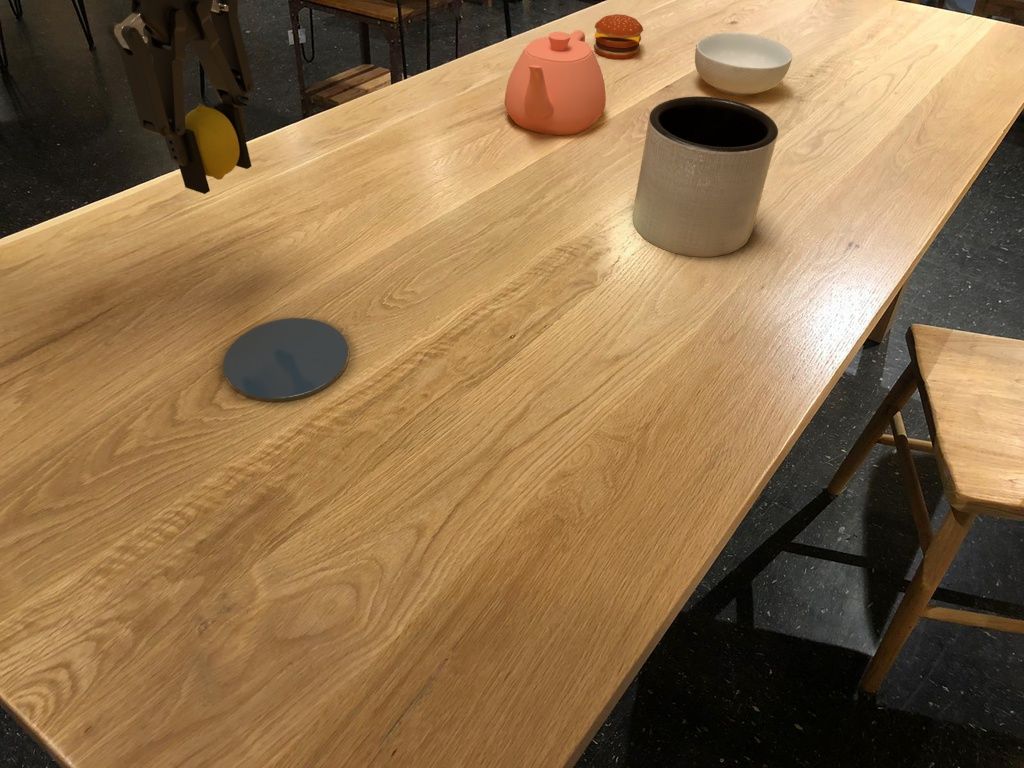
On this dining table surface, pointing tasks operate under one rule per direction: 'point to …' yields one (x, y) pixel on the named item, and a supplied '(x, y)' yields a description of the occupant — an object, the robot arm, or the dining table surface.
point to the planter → (702, 175)
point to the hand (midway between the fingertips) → (219, 176)
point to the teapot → (556, 85)
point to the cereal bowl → (741, 62)
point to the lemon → (214, 140)
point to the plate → (286, 360)
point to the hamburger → (617, 36)
